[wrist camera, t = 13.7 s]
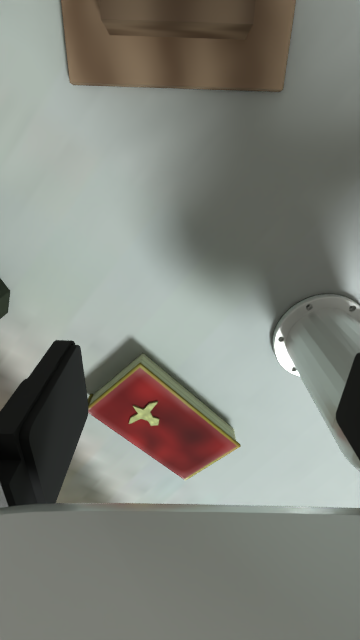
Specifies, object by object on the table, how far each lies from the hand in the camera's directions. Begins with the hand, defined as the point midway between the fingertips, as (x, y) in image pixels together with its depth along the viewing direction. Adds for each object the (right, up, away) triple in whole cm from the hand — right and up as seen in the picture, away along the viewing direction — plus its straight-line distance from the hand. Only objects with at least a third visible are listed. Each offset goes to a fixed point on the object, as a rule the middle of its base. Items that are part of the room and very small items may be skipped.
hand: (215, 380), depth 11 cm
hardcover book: (-4, -12, +39) cm, 41 cm away
